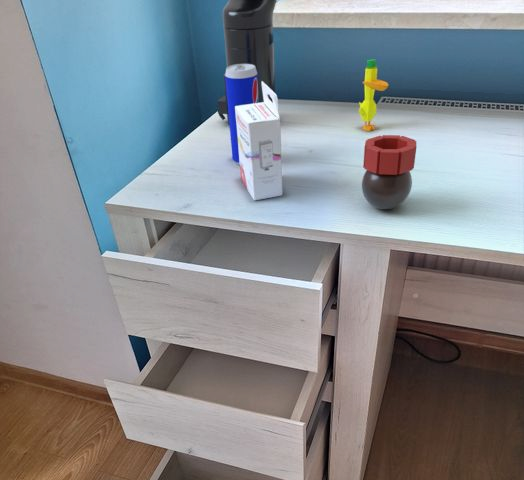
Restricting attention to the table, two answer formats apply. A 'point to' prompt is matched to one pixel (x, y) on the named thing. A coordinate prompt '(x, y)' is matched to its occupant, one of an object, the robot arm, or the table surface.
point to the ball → (386, 189)
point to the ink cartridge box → (260, 146)
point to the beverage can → (240, 96)
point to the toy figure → (370, 94)
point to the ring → (389, 154)
